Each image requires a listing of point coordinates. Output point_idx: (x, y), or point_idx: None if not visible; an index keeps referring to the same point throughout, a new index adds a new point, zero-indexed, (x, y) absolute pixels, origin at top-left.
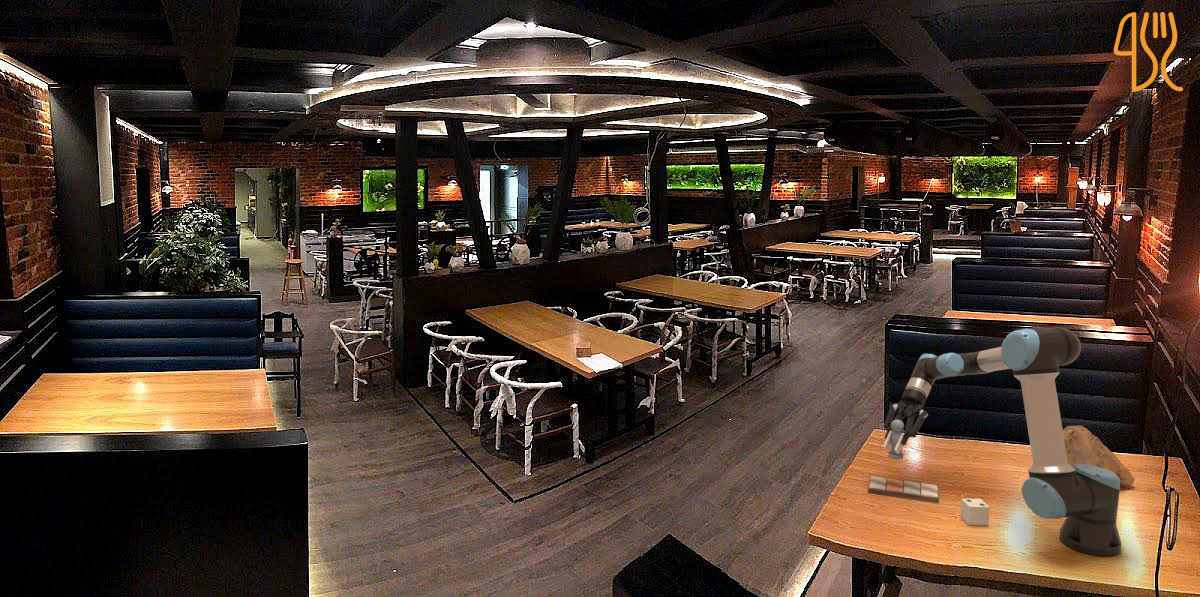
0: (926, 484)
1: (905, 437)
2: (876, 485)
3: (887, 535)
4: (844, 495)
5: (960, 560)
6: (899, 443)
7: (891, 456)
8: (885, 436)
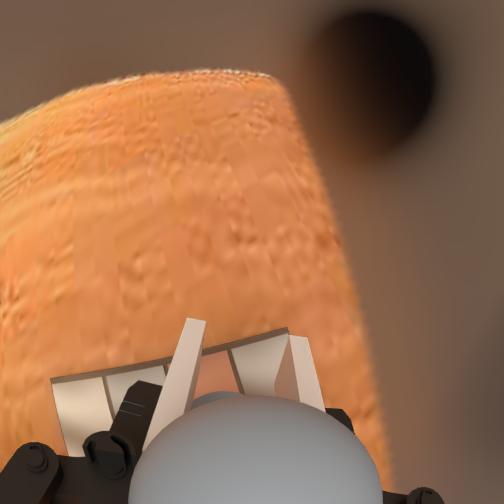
0: None
1: (123, 434)
2: (273, 370)
3: (156, 117)
4: (332, 262)
5: (33, 115)
6: (173, 361)
7: (240, 394)
8: (345, 424)
